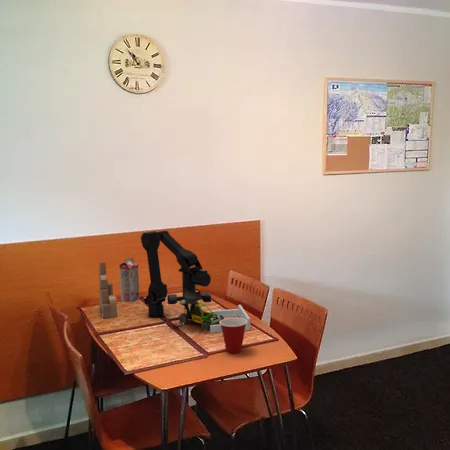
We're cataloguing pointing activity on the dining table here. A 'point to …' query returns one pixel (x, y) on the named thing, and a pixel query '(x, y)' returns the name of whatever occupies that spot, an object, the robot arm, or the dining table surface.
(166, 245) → the robot arm
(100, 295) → the wooden toy
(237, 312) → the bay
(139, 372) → the dining table surface
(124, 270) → the milk carton
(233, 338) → the plastic cup
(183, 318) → the motor vehicle
